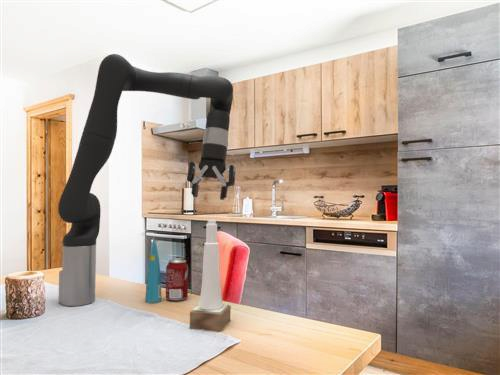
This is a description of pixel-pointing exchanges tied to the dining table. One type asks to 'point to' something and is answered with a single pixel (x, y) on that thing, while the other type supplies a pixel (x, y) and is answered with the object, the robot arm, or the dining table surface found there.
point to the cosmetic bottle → (211, 270)
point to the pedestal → (210, 318)
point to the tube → (153, 277)
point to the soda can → (176, 280)
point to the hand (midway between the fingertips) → (208, 198)
